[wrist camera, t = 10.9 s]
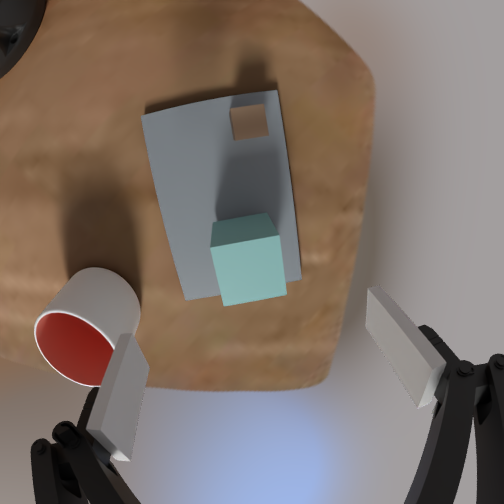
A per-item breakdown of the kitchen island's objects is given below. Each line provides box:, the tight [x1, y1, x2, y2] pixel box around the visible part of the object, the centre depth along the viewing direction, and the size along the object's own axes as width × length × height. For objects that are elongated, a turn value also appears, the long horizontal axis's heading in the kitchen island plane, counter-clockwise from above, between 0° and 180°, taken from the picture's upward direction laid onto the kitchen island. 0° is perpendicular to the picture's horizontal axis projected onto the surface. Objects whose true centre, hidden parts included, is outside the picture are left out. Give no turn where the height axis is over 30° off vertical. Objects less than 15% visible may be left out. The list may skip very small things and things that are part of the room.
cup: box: [34, 267, 141, 387], centre depth 28 cm, size 10×10×10 cm
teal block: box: [210, 212, 287, 306], centre depth 26 cm, size 5×5×7 cm
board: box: [141, 90, 302, 301], centre depth 29 cm, size 20×13×1 cm, turn 9°
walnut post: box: [229, 104, 269, 141], centre depth 23 cm, size 3×3×5 cm
